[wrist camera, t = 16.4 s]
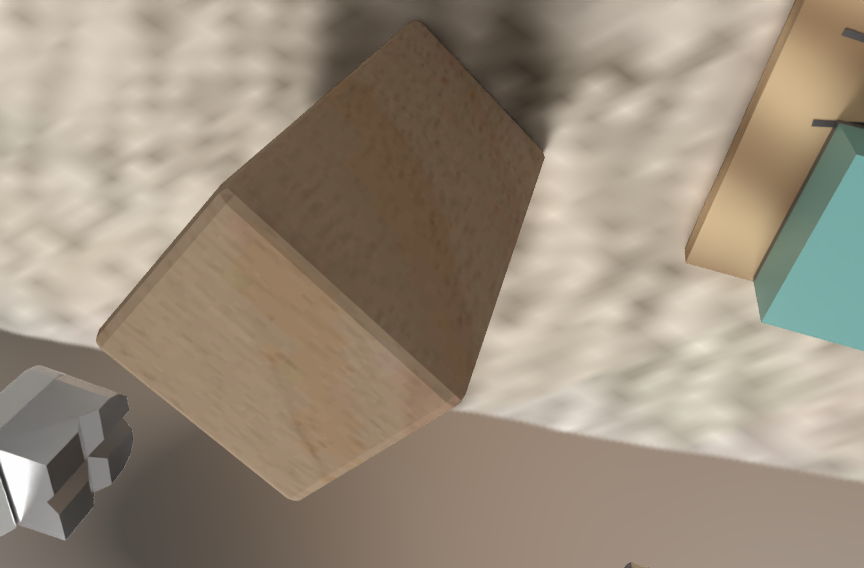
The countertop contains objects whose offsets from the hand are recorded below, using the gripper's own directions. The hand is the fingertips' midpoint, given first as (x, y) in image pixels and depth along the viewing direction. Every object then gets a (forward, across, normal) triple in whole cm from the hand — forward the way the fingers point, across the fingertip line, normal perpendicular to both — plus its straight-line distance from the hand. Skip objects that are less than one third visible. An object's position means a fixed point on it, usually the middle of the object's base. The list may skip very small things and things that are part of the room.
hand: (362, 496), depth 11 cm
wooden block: (+29, +6, +8) cm, 31 cm away
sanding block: (+28, -15, +5) cm, 32 cm away
